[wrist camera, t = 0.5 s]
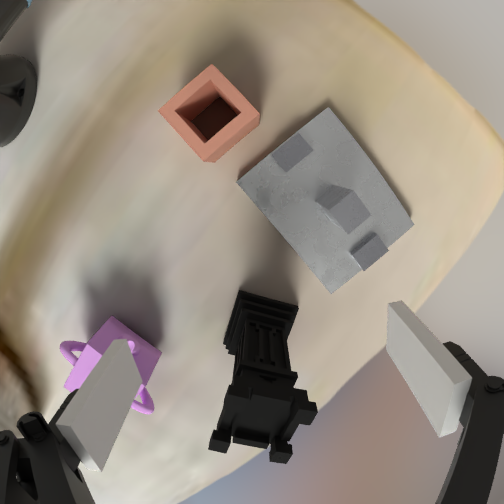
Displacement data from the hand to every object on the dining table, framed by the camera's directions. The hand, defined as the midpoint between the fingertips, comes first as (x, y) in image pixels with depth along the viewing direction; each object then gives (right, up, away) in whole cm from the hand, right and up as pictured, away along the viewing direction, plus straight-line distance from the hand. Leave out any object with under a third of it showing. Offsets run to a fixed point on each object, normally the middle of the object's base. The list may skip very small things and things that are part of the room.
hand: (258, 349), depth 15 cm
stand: (+9, +11, +23) cm, 27 cm away
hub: (-4, +20, +21) cm, 29 cm away
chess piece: (+1, -5, +28) cm, 28 cm away
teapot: (-20, -10, +30) cm, 37 cm away
